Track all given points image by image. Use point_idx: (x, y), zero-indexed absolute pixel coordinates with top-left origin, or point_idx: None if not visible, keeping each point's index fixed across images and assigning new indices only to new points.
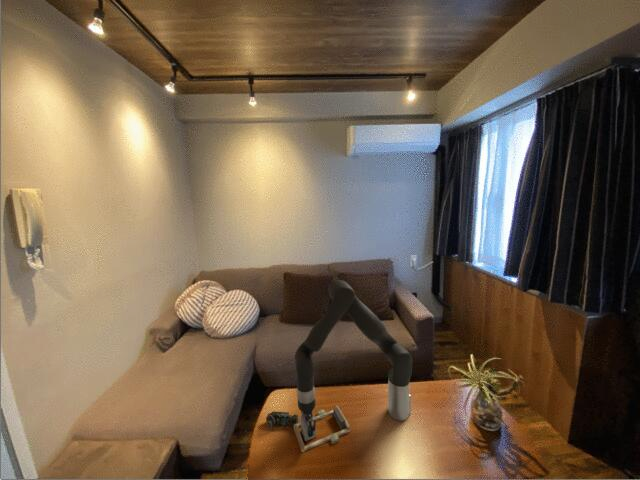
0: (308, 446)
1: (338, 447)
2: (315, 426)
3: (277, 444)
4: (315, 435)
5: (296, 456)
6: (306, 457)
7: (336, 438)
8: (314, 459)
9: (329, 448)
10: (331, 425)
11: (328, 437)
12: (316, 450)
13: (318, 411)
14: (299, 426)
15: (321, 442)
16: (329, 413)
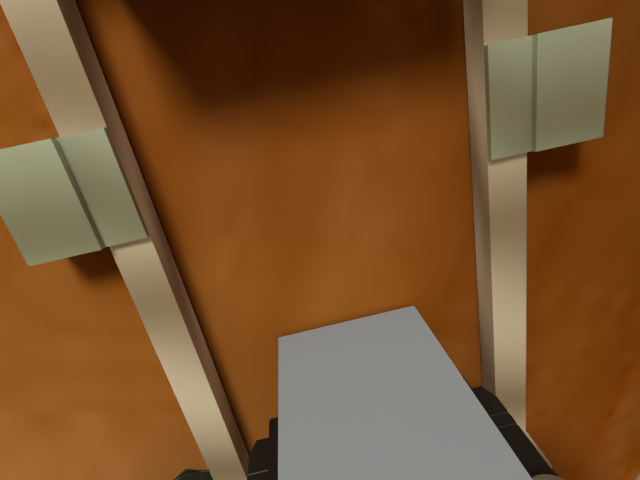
0: (516, 399)
1: (636, 61)
2: (495, 427)
3: None
4: (423, 326)
5: None
6: (568, 399)
7: (593, 57)
8: (618, 340)
9: (593, 180)
10: (298, 76)
11: (510, 174)
12: (550, 316)
13: (37, 254)
14: (246, 460)
15: (521, 267)
16: (77, 55)
